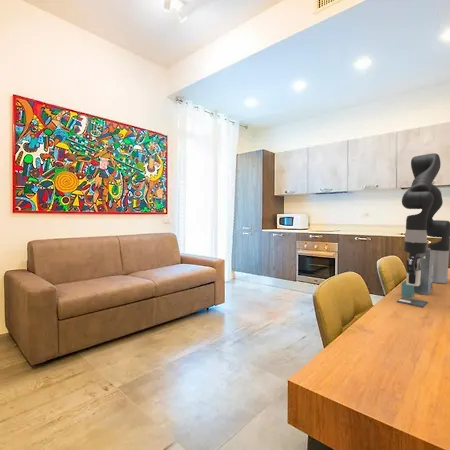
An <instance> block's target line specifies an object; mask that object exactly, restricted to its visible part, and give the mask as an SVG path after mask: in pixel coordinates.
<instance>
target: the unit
mask: <svg viewBox="0 0 450 450" xmlns="http://www.w3.org/2000/svg"><path fill="white" fill-rule="evenodd" d="M409 255H410V253H409V252H408V256H409ZM432 255H433V250H430V248H428V247H426V253H424V254H420V257H422V260H421V268H420V269H421V277H420V285H419V286H414V294H421V295H425V296H429V294H431V293H432V292H431V289H432V288H431V274H432Z"/></svg>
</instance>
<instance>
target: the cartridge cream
mask: <svg viewBox="0 0 450 450" xmlns="http://www.w3.org/2000/svg"><path fill="white" fill-rule="evenodd" d="M411 270H412V271H413V269H411ZM420 277H421V270H419V269H417V270H416V278H415V284H410V283H409V274H408V273H407V272H406V285H412V286H419V285H420Z"/></svg>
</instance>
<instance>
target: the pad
mask: <svg viewBox="0 0 450 450" xmlns="http://www.w3.org/2000/svg"><path fill="white" fill-rule="evenodd" d="M396 303H400V304H403V305H409V306H413V307H414V306H415V307H419V308H424V307H425V306H427V304H428V303H429V301H427V300H423V299H418V298H414V297H412V298H411V297H406V296H401V297H400V298H398V299H397V300H396Z"/></svg>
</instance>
